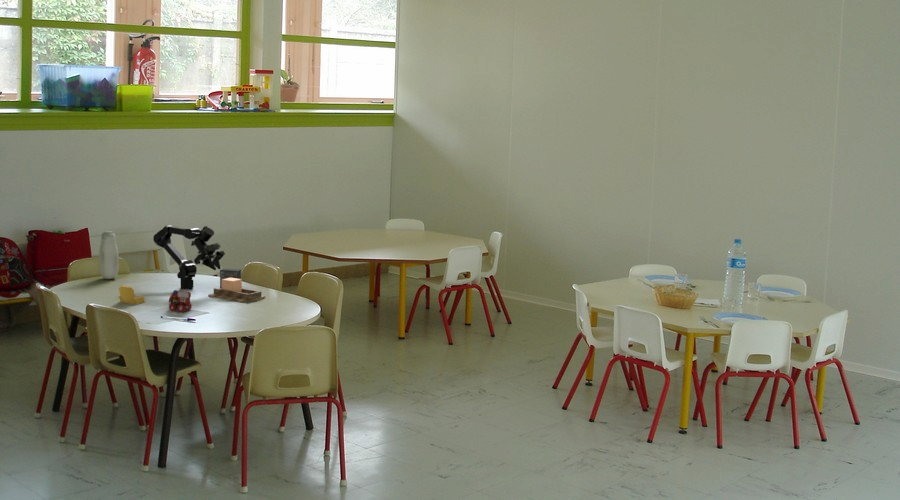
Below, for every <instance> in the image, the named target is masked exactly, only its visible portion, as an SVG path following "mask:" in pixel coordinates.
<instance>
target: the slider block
mask: <svg viewBox="0 0 900 500" xmlns="http://www.w3.org/2000/svg"><path fill="white" fill-rule="evenodd" d="M242 287H243V279H242V278H241V279H237V278H226V279H222V288H221V289H223V290H229V291H235V292H240V293H242Z"/></svg>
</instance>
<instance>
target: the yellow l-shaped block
mask: <svg viewBox="0 0 900 500" xmlns="http://www.w3.org/2000/svg"><path fill="white" fill-rule="evenodd" d="M118 292H119V295H118V299H119V302H120V303H123V302H125V304H130V305H131V304H132V305H139V304H143V303H146V301H145V296H138V297H135V291H134V289H133V287H131V286H125V285H120V286H119V287H118Z"/></svg>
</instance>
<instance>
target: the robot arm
mask: <svg viewBox="0 0 900 500" xmlns="http://www.w3.org/2000/svg"><path fill="white" fill-rule="evenodd" d="M173 235H178V236H183V237H184V238H185V239H188V240H191V244H190V246H191V247H194V246H195V248H196V249H197V256H196V257H195V258H194V259H193V260H192V259H188V260H187V259H186V258H185V257H184V256H183V255H182V254H181V252H180V251H179V250H178V249H177V248H176V247H175V246H174V244H173V243H172V239H171V237H172V236H173ZM214 235H215V231H214V230H213V229H212V228H211V227H208V225H206V226H203V227H202V229H200V228H198V227H187V228H186V227H180V226H176V225H172V224H171V225H170V224H169V225H165V226H163V228H162V229H160V230H158V231H157V232H156V233H155V234H154V235H153V242H154V243H155V244H156V245H157V246H158V247H159V248H160V247H161V248H163V249H164V250H165V251H166V252H167V254H168V255H169V256H170V257H171V258H172V259H173V261H175V263H176V264H177V265H178V270H179V271H178V273H177V274H176V276H177V278H178V279H180V288H179V289H180V290H193V288H194V279H193V278H195V277H196V275H197V270H198V269H197V266H196V265H200V264H202V265H203V266H206V267H208V268H210V269H212V270H214V271H216V270H217V269H218V270H222V269H221V264H220V260H222V259H223V257H224V256H225V255H226V253H225V251H224V250H220V248H221V244H220V242H218V241H216V242H215V243H212V244H208V243H209V241H210V240H211V239H212V238H213V236H214ZM216 250H217V251H216ZM193 261H194V262H193ZM201 261H202V263H201Z"/></svg>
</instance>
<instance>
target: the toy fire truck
mask: <svg viewBox="0 0 900 500" xmlns="http://www.w3.org/2000/svg"><path fill="white" fill-rule="evenodd" d="M191 294H192V293H191V292H190V291H187V290H186V291H184V290H183V291H182V290H176V289H174V290H173V292H172V293H171V294H170V296H169V298H168V309H169V312H176V311H178V312H179V313H182V314H183V313H184V312H185V311H190V310H192V308H193V305H192V303H191V297H192V295H191Z"/></svg>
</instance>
